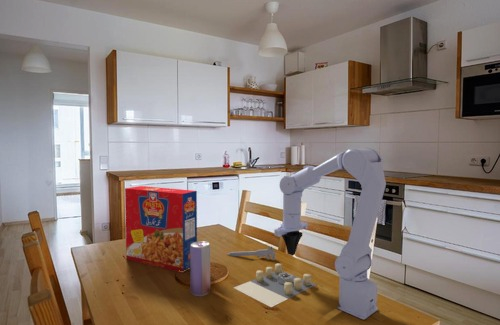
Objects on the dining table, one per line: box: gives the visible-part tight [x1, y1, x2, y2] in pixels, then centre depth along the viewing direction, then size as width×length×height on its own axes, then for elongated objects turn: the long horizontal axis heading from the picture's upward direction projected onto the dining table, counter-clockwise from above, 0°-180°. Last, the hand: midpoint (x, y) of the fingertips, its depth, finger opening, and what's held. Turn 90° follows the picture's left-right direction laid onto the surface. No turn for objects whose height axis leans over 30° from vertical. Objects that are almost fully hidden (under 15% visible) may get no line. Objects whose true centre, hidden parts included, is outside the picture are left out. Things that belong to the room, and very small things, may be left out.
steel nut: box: [278, 272, 294, 285], centre depth 103 cm, size 5×4×2 cm
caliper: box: [226, 246, 276, 261], centre depth 127 cm, size 20×1×6 cm, turn 66°
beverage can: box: [189, 240, 211, 297], centre depth 97 cm, size 6×6×15 cm
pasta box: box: [124, 185, 198, 272], centre depth 122 cm, size 28×8×28 cm, turn 63°
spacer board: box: [233, 262, 317, 308], centre depth 100 cm, size 16×21×4 cm
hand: (291, 254), depth 105 cm, fingers closed
